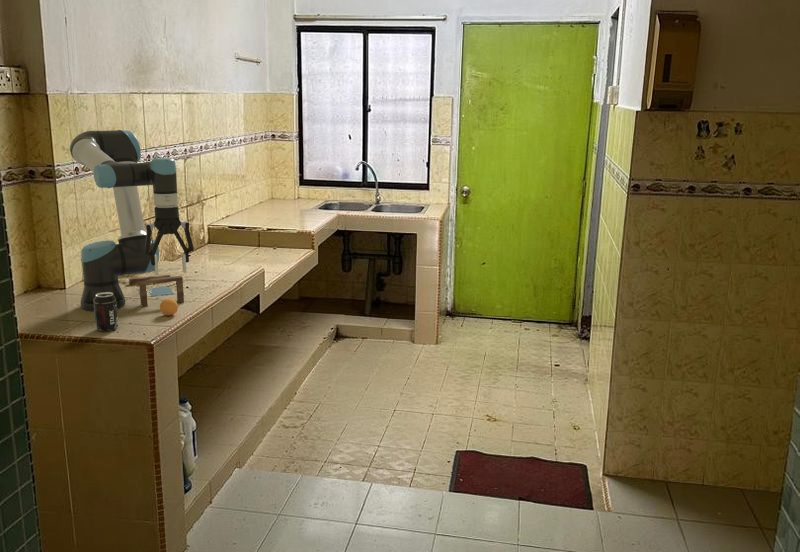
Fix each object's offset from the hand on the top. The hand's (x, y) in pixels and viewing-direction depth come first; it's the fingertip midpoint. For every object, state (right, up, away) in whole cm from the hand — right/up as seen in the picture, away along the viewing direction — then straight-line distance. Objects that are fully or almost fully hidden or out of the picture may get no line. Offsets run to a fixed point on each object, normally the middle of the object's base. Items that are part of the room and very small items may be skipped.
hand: (170, 273), depth 235 cm
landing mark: (-20, -7, +42) cm, 47 cm away
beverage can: (-20, -19, -4) cm, 27 cm away
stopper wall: (-27, -4, +56) cm, 62 cm away
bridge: (-12, -11, +26) cm, 31 cm away
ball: (-4, -12, +12) cm, 17 cm away
